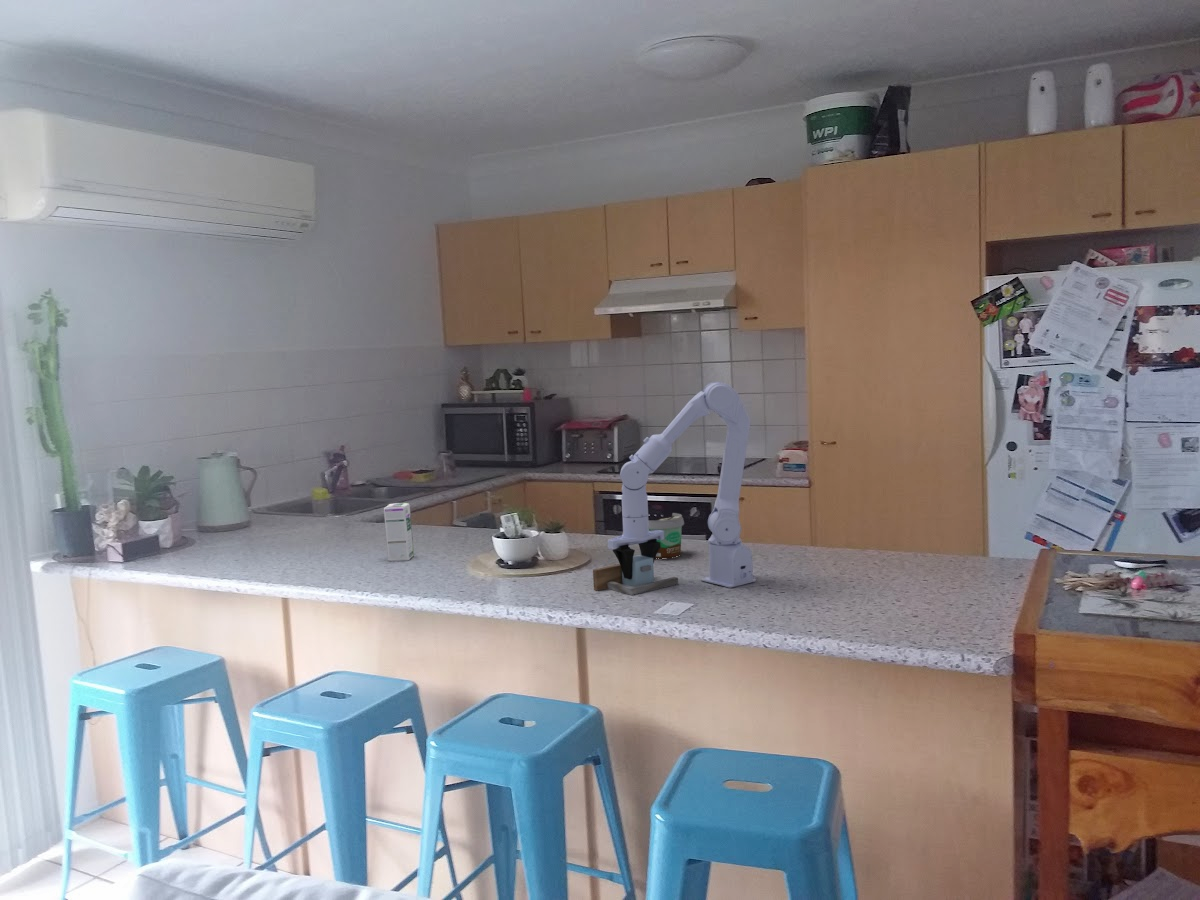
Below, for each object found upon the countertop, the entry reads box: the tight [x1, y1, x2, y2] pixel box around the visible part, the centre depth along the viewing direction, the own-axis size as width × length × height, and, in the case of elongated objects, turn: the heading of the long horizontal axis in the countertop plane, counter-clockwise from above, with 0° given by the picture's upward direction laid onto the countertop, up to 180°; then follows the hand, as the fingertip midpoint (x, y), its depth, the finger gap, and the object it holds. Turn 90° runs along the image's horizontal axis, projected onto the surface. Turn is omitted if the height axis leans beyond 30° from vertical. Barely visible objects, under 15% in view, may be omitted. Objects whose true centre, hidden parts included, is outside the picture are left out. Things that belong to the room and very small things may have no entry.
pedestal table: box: [592, 563, 679, 596], centre depth 209 cm, size 10×16×4 cm, turn 127°
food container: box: [648, 512, 685, 560], centre depth 238 cm, size 12×6×10 cm, turn 140°
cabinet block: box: [622, 554, 655, 587], centre depth 210 cm, size 6×5×6 cm
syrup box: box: [383, 502, 415, 562], centre depth 250 cm, size 6×6×14 cm
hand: (637, 576), depth 211 cm, fingers closed on cabinet block, 5 cm apart
